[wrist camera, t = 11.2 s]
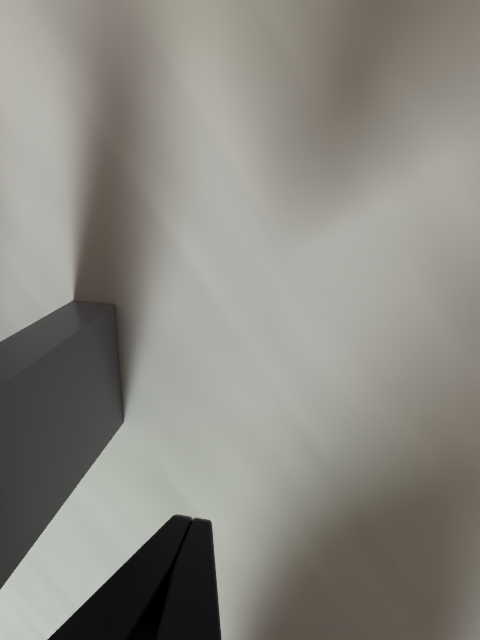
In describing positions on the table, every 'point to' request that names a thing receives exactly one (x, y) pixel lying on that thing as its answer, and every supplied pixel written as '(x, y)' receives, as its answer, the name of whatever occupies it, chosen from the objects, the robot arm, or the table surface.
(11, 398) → the domino
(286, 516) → the table surface
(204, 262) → the table surface
